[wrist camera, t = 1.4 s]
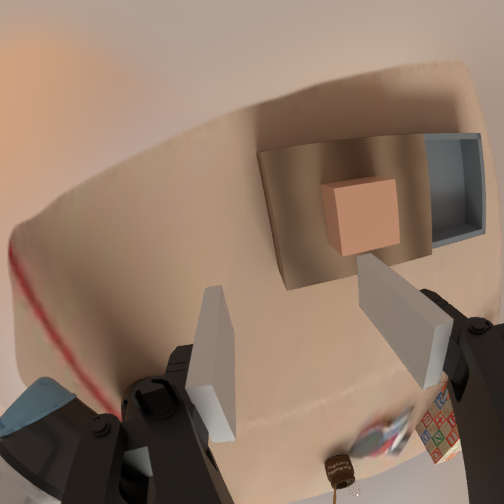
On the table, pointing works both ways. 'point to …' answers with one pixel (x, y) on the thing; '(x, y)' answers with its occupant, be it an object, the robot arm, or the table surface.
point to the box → (456, 186)
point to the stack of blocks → (440, 430)
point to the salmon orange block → (361, 214)
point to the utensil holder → (339, 473)
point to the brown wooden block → (312, 207)
